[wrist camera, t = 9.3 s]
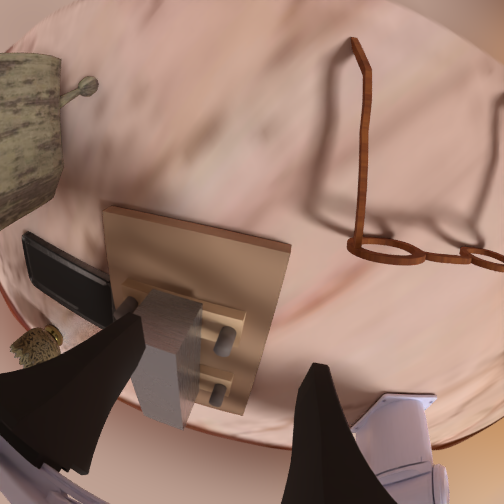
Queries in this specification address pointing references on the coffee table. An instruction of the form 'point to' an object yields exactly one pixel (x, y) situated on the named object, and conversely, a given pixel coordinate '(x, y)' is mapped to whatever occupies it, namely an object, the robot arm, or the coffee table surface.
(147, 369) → the metal bar
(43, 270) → the phone
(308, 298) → the coffee table surface
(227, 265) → the peg rack
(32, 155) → the tabletop clock
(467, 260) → the glasses
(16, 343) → the cup
